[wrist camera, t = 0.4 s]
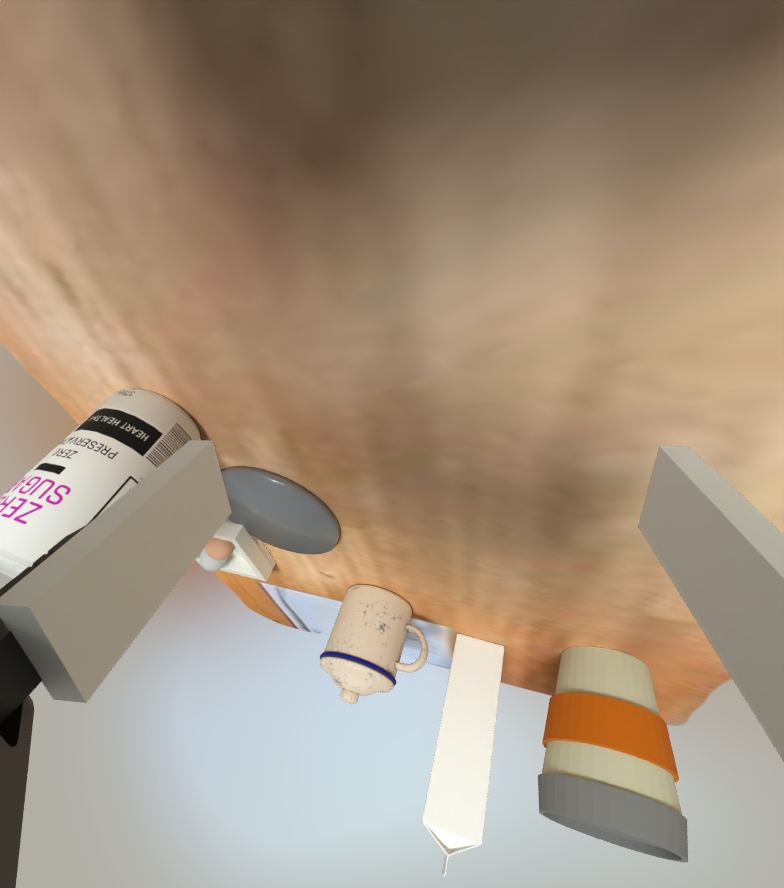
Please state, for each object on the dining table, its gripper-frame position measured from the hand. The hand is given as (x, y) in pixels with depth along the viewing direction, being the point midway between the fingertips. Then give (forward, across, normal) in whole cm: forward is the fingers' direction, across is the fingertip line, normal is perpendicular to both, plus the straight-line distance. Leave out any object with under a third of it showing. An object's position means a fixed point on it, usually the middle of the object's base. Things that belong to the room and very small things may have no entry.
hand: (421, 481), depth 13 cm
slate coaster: (+23, -17, -19) cm, 34 cm away
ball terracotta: (+25, -25, -25) cm, 43 cm away
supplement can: (+21, -24, -7) cm, 33 cm away
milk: (+28, +5, -42) cm, 51 cm away
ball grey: (+27, -28, -29) cm, 48 cm away
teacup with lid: (+27, -6, -35) cm, 45 cm away
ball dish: (+28, -26, -26) cm, 46 cm away
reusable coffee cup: (+24, +19, -38) cm, 48 cm away
